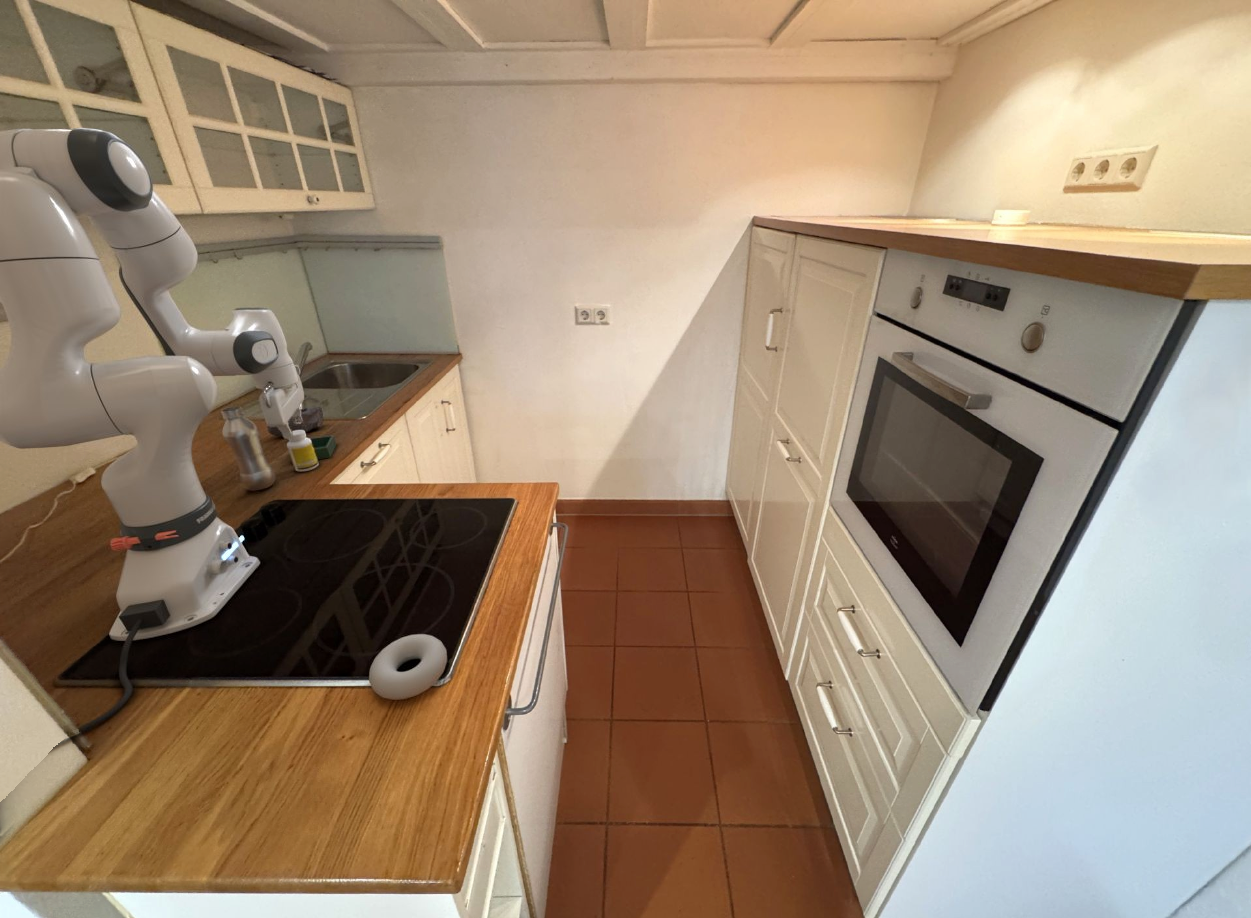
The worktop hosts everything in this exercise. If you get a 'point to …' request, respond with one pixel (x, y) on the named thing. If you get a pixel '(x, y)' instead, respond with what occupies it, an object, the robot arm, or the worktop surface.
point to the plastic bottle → (247, 449)
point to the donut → (414, 680)
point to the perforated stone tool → (310, 421)
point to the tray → (323, 446)
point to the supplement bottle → (302, 452)
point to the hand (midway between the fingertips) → (294, 430)
